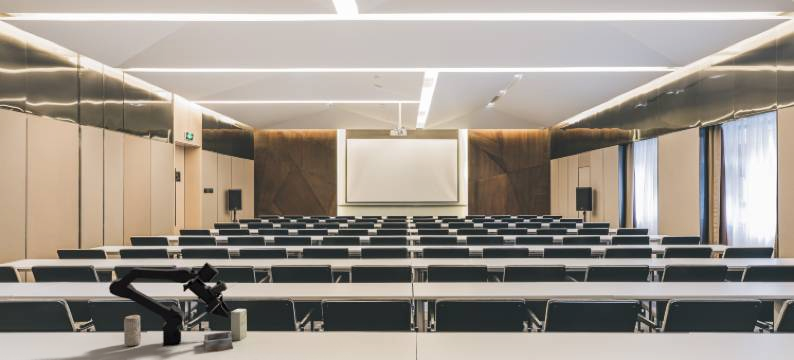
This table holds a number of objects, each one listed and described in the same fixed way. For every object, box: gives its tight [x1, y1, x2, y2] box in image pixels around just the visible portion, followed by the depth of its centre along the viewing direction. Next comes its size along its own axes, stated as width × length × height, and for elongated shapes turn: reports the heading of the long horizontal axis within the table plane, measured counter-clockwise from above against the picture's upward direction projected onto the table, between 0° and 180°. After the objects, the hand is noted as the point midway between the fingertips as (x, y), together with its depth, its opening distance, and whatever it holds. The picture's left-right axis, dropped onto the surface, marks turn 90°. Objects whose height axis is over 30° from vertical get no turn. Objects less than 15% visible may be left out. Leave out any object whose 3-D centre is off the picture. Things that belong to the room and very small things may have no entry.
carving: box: [123, 314, 142, 347], centre depth 216 cm, size 6×8×12 cm
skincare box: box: [230, 308, 248, 341], centre depth 225 cm, size 6×4×12 cm
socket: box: [203, 331, 234, 353], centre depth 214 cm, size 11×11×4 cm
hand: (228, 313), depth 224 cm, fingers open, 9 cm apart
